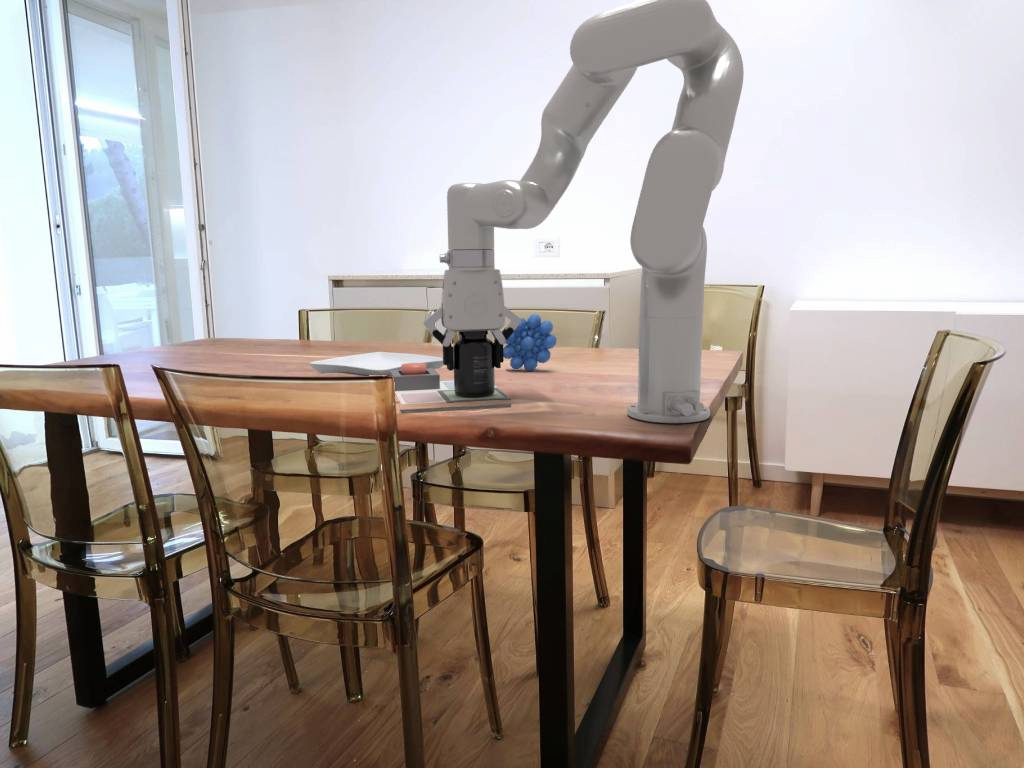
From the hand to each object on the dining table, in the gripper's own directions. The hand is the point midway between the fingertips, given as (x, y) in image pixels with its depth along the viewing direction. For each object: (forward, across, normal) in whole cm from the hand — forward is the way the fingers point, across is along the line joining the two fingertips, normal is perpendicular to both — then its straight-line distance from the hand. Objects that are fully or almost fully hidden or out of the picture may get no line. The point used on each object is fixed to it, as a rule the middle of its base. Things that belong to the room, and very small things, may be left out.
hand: (473, 367), depth 138 cm
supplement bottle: (+5, 0, 0) cm, 5 cm away
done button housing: (+5, -9, +12) cm, 15 cm away
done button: (+3, -9, +12) cm, 15 cm away
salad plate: (+7, -13, +38) cm, 40 cm away
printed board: (+6, -4, +6) cm, 9 cm away
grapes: (+6, +18, +33) cm, 38 cm away
